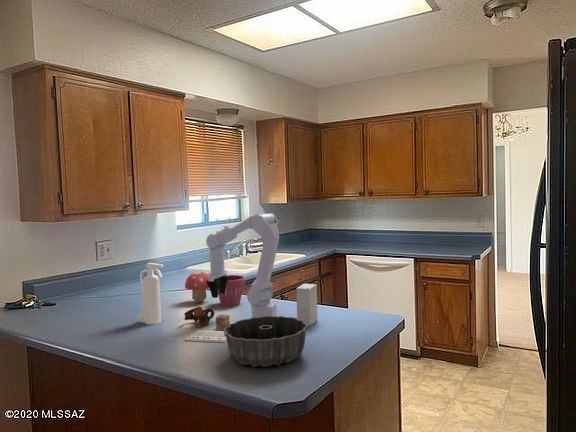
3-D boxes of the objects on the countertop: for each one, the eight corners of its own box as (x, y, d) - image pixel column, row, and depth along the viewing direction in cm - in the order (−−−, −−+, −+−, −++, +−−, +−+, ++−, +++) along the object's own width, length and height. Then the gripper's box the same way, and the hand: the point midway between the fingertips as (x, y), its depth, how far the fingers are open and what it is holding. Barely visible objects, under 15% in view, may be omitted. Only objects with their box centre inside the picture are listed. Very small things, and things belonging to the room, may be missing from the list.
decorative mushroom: (180, 305, 215) (178, 274, 215) (194, 298, 228) (193, 269, 227) (204, 306, 211) (203, 274, 210) (218, 299, 224) (216, 269, 223)
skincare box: (304, 319, 183) (303, 283, 182) (318, 320, 180) (317, 283, 179) (296, 325, 175) (295, 287, 174) (311, 326, 172) (309, 288, 172)
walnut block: (229, 327, 175) (229, 315, 175) (225, 330, 171) (225, 317, 171) (220, 327, 176) (219, 314, 176) (216, 330, 172) (215, 317, 172)
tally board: (234, 333, 167) (234, 331, 167) (224, 342, 157) (224, 340, 157) (197, 332, 170) (197, 329, 170) (185, 340, 161) (185, 338, 161)
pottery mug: (189, 331, 174) (182, 311, 176) (189, 335, 182) (182, 316, 184) (218, 319, 178) (211, 300, 181) (216, 324, 187) (209, 305, 189)
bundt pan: (207, 359, 141) (206, 328, 141) (269, 338, 160) (268, 311, 159) (263, 382, 122) (261, 346, 122) (326, 355, 141) (325, 324, 140)
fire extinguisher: (143, 318, 192) (141, 261, 190) (168, 320, 189) (166, 262, 187) (133, 323, 186) (131, 263, 184) (159, 326, 182) (156, 265, 180)
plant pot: (237, 308, 204) (236, 280, 204) (210, 307, 209) (208, 280, 208) (250, 301, 218) (249, 275, 217) (224, 300, 222) (223, 274, 222)
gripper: (215, 260, 193) (216, 291, 193) (200, 265, 179) (202, 299, 179) (230, 260, 191) (232, 291, 192) (217, 265, 177) (218, 299, 178)
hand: (218, 295), depth 185 cm, fingers open, 7 cm apart
